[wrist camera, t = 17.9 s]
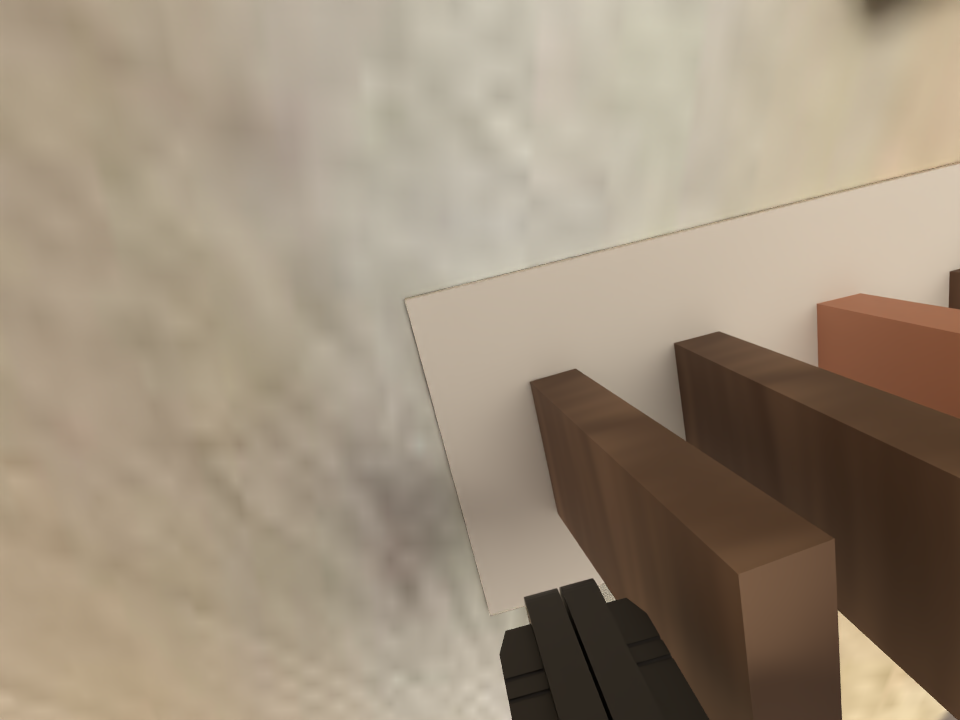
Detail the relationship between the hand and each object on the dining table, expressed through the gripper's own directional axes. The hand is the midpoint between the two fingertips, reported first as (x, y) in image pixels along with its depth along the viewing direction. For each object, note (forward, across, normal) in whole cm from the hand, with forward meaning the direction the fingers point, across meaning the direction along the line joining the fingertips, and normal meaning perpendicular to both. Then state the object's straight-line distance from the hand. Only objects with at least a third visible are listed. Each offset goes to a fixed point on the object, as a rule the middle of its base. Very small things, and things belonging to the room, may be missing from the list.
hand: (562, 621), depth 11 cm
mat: (+8, -11, 0) cm, 14 cm away
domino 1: (+7, -2, 0) cm, 8 cm away
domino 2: (+7, -7, 0) cm, 10 cm away
